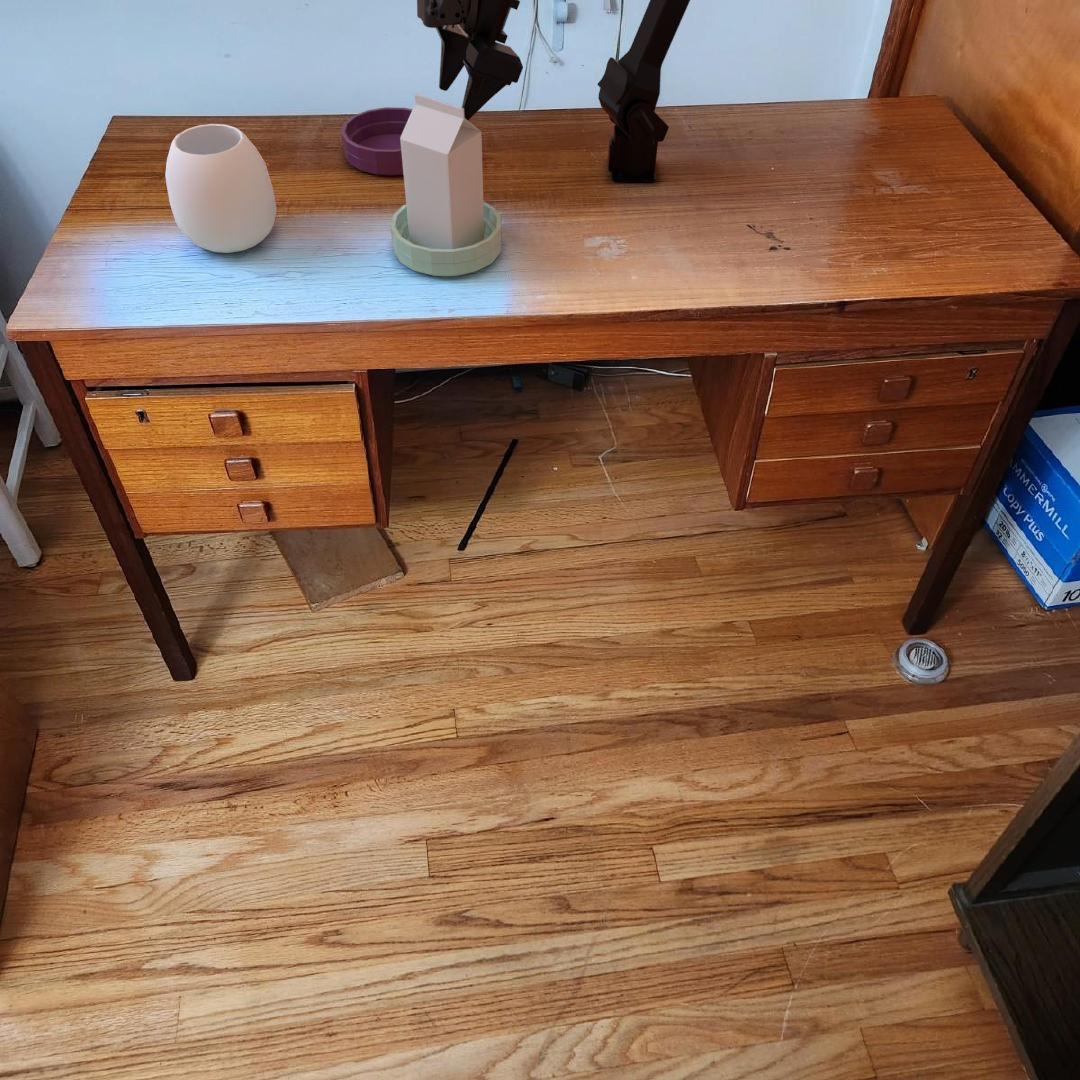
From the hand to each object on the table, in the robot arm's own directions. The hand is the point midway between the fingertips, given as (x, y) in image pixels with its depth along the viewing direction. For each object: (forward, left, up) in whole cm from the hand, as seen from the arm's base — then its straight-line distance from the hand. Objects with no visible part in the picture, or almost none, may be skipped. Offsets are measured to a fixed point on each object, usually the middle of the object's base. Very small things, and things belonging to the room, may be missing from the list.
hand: (453, 104), depth 125 cm
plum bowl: (+11, -14, -14) cm, 22 cm away
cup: (+30, +10, -14) cm, 34 cm away
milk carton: (+1, +12, -14) cm, 18 cm away
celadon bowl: (+1, +12, -14) cm, 19 cm away
